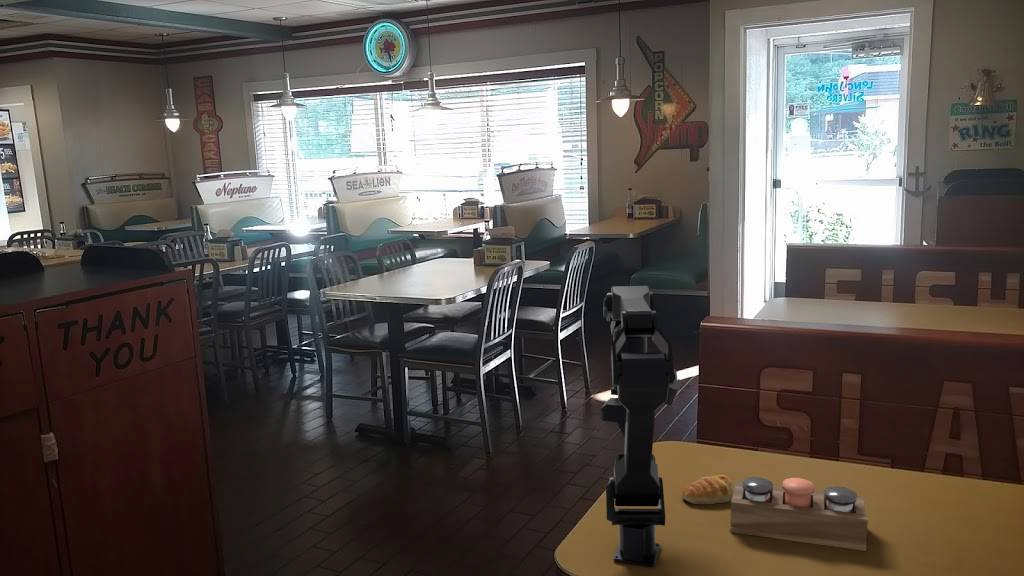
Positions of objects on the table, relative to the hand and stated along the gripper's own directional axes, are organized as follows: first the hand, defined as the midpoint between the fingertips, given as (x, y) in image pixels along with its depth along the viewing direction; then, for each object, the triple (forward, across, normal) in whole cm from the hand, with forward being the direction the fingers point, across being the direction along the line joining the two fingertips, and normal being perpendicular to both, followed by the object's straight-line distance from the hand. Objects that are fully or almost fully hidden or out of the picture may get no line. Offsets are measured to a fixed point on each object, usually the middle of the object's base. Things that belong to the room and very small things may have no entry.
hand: (630, 443), depth 140 cm
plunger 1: (+12, +2, -21) cm, 24 cm away
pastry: (+14, +10, -13) cm, 21 cm away
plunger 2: (+12, +2, -35) cm, 36 cm away
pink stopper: (+11, +2, -28) cm, 30 cm away
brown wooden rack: (+13, +2, -28) cm, 31 cm away
